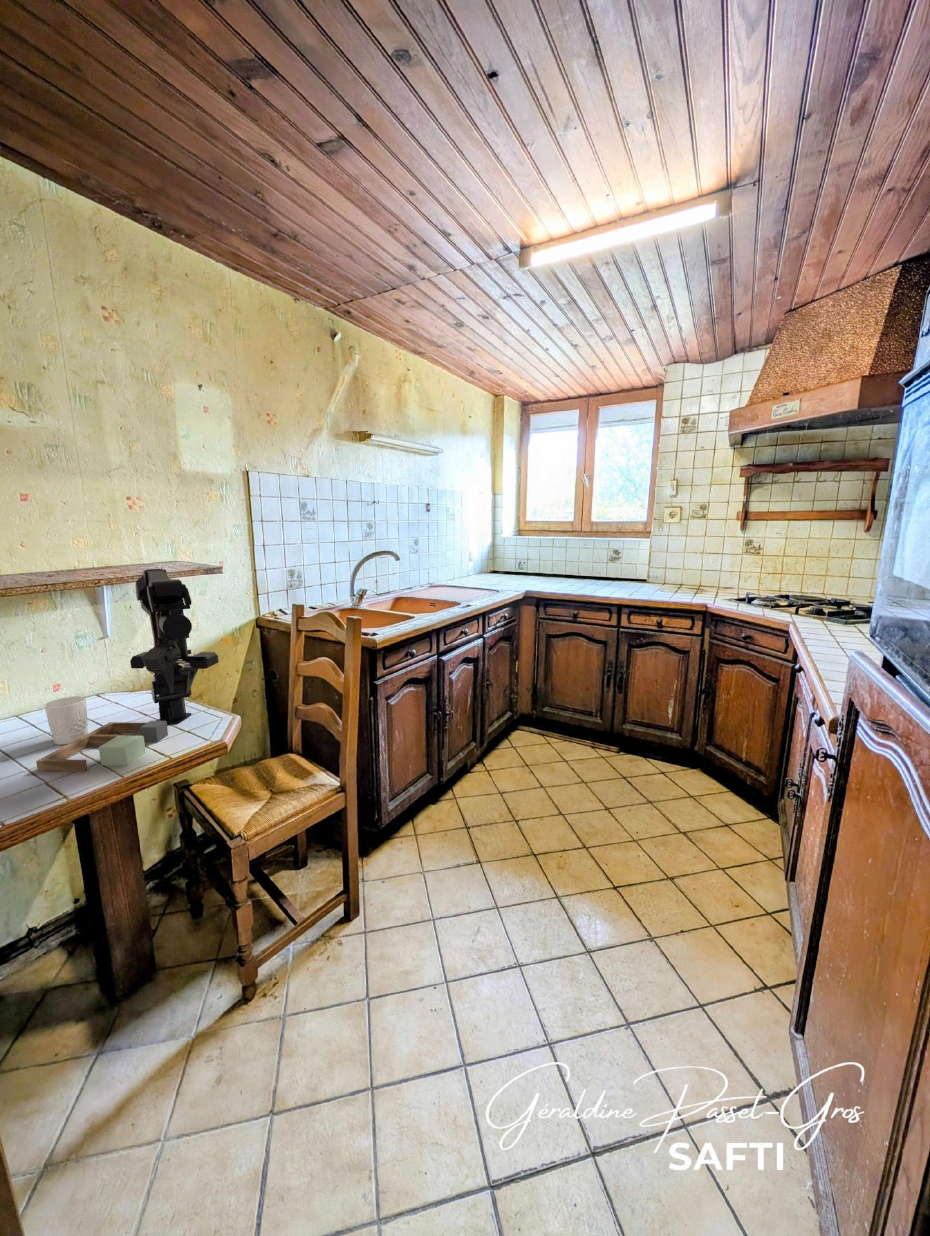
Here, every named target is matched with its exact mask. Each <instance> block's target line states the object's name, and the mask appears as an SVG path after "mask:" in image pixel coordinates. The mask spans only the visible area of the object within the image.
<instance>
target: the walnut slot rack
mask: <svg viewBox="0 0 930 1236" xmlns="http://www.w3.org/2000/svg"><path fill="white" fill-rule="evenodd" d="M146 723H147V722H126V721H125V722H121V721H120V722H118V721H117V722H108V723H106V724H104V725H102V726H100V727H98V728H95V730H93V731H91V732H88V734H87V735H85V736H83V737H81V738H79V739H77V740H75V741H73V742H71V743H70V744H65V745H64V746H62V747H60V748H59V749H56V750H54V751H52V752H51V753H48V754H47V755H45V756H44V757H41V758H39V759H38V760H36V761H35V762H36V767H37V768H36V769H37V771H38V772H56V773H57V772H64V773H65V772H67V773H68V772H71V773H74V772H75V773H77V772H78V773H80V772H81V773H85V772H87V771H88V769H89V768H88V764H87V759H69V758H71V757H72V756H74V755H76V754H78V753H79V752H81V751H83V750H86V748H88V747H91V746H102V745H103V744H105V743H107V742H108V741H110V740H112V739H113V738H115V737H117V736H129V735H128V734H127V733H133V734H134V733H136V734H137V733H139V734H141V730H140V727H141V726H143V725H145V724H146ZM114 733H121V734H114ZM122 733H125V734H122Z"/></svg>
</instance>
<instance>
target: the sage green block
mask: <svg viewBox="0 0 930 1236" xmlns="http://www.w3.org/2000/svg"><path fill="white" fill-rule="evenodd" d="M145 743H146V742H144V736H141V735H128V736H117V737H115V738H113V739H112V740H110V741H108V742H107V743H105V744H103V745H99V747H98V751H99V758H100V764H101V766H129V765H130V764H132V763H134V762H135V761H137V760H138V759H139V758H140V757H143V756H144V755H145V754H146V753H147V752H146V746H145V745H146V744H145Z"/></svg>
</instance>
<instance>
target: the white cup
mask: <svg viewBox="0 0 930 1236" xmlns="http://www.w3.org/2000/svg"><path fill="white" fill-rule="evenodd" d="M44 709H45V714H46V718H47V722H48V726H49V730H50V732H51V736H52V739H53V743H54V744H55V745H58V746H59V745H61V746H62V745H64V746H65V745H68V744H70V743H71V742H73V741H75V740H77V739H79V738H81V737H83V736H85V735H87V734H89V729H88V727H89V723H88V721H89V720H88V709H87V699H86V697H85V696H82V695H80V696H79V695H78V696H77V695H76V696H75V695H74V696H66V697H61V698H57V699H53V700H51V701H48V702H46V703H45V704H44Z"/></svg>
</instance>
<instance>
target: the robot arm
mask: <svg viewBox="0 0 930 1236" xmlns="http://www.w3.org/2000/svg"><path fill="white" fill-rule="evenodd" d="M135 594H136V600H137V601H138V602H139V603H140V607H141V609H142V611H144V612H145V613H146V614H147V615H148V616H149V621H150V626H151V634H152V637H153V647H152V648H150V649H149V650H148V651H142V652H140V653H138V654H136V655H135V654H134V655H133V656H132V657H131V659H130V661H129V663H130V668H131V669H144V668H145V670H147V671H148V672H150V673H152V674H153V676H152V678H153V681H151V687H150V689H151V697H152V698H151V699H152V701H153V703H154V704H158V713H159V714H158V715H159V719H156V721H166V722H167V724H180V723H181V722H182V721H184V720H186V719H187V718H188V717H190V716H192V713H191V712H186V711H187V710H186V700H185V698H190V697H191V696H192V685H193V682H194V680H195V678H196V676H197V675H196V674H197V673H198V671H199V670H203V669H209V668H210V667H212V666H214V665H216V664H218V663H220V661H219V656H218V654H217V653H216V652H215V651H200V652H199V653H196V654H194V655H191V654H192V650H191V649H188V644H187V642H188V641H187V639H189V638H190V633H191V632H192V630H193V629H192V628H193V625H192V622H191V620H190V618H189V617H187V616H186V615H185V613H184V610H190V609H191V606H192V597H191V596H190V592H189V589H188V588H187V585H186V584H185V583H183V582H182V581H181V580H180V579H176V578H175V579H172V578H170V577H169V575H168V573H167V569H163V568H150V569H148V568H147V569H145V570H143V575H141V577H139V578H138V579H137V580H136V581H135ZM182 665H183V666H182Z"/></svg>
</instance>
